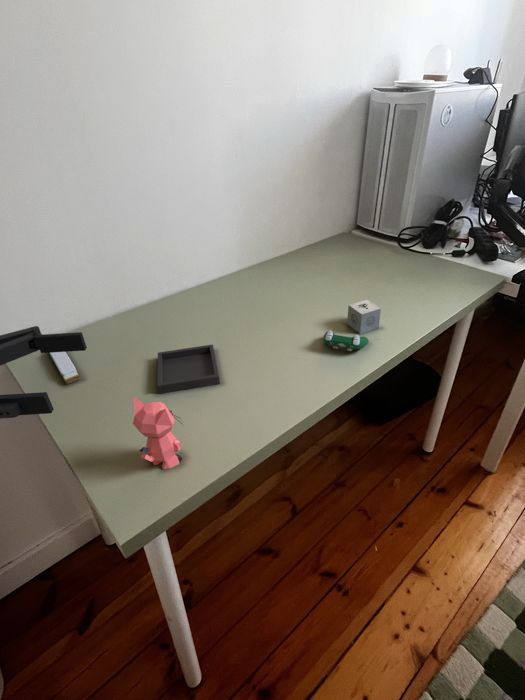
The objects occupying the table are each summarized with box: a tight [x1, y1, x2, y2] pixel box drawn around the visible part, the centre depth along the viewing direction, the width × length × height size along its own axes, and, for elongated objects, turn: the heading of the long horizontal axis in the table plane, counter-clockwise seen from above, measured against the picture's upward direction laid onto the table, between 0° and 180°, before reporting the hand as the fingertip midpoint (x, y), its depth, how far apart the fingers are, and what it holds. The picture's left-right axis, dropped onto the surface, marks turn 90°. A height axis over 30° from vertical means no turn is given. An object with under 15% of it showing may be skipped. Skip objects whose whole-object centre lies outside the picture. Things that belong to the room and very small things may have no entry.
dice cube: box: [346, 299, 382, 335], centre depth 97 cm, size 5×5×5 cm
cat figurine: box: [132, 396, 184, 470], centre depth 64 cm, size 7×7×12 cm
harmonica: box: [47, 352, 81, 385], centre depth 91 cm, size 15×3×2 cm, turn 36°
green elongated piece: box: [323, 330, 369, 352], centre depth 91 cm, size 9×4×6 cm
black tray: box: [156, 344, 221, 394], centre depth 87 cm, size 12×12×2 cm
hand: (68, 369), depth 57 cm, fingers open, 13 cm apart
